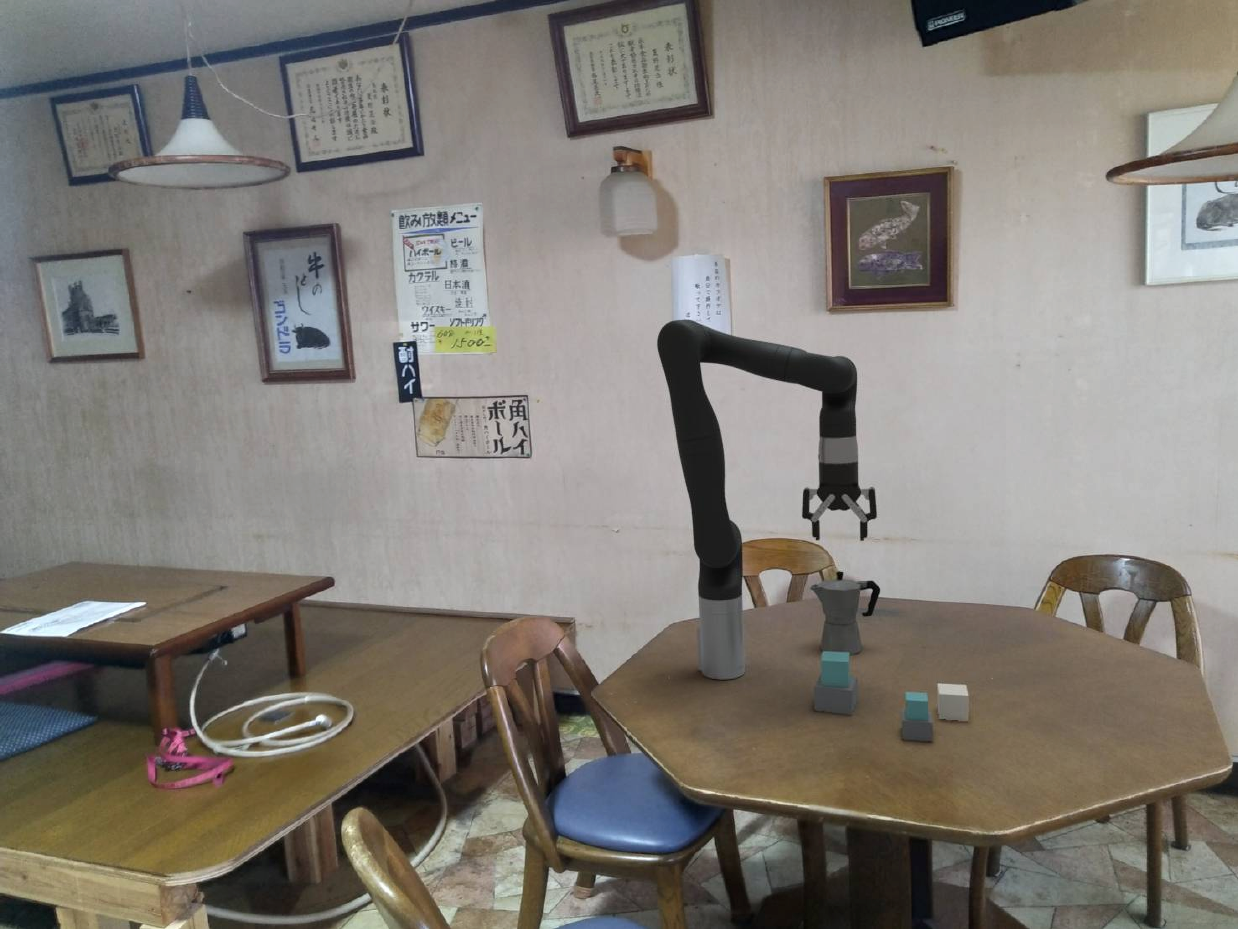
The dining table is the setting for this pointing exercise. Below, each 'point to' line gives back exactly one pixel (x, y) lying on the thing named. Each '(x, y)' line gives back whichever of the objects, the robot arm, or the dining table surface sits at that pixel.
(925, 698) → the stack
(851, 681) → the charcoal block
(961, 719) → the cream block
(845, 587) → the coffeepot
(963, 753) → the dining table surface
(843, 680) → the teal block
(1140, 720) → the dining table surface
